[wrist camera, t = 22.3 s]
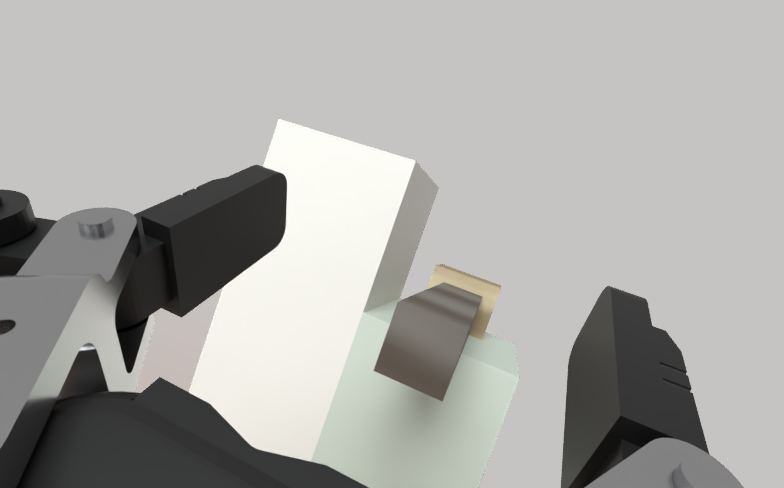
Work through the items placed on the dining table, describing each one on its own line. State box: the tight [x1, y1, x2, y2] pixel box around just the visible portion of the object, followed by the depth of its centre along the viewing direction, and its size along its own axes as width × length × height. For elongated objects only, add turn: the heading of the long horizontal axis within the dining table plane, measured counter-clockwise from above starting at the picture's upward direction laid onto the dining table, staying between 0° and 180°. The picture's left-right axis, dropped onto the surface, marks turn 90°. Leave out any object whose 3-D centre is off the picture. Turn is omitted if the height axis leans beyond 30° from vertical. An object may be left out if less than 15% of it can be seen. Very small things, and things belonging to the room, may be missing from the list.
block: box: [373, 264, 501, 402], centre depth 26 cm, size 19×5×4 cm, turn 165°
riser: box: [189, 119, 520, 488], centre depth 32 cm, size 10×20×32 cm, turn 75°
